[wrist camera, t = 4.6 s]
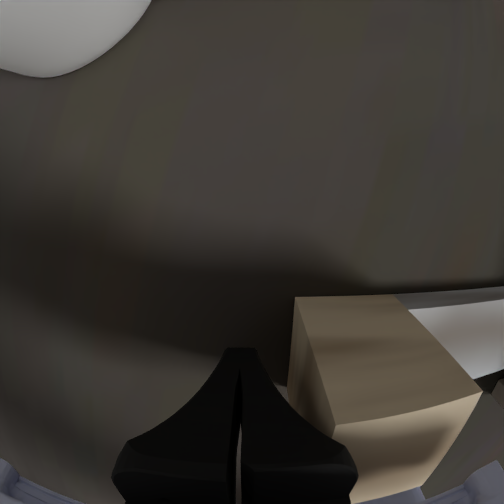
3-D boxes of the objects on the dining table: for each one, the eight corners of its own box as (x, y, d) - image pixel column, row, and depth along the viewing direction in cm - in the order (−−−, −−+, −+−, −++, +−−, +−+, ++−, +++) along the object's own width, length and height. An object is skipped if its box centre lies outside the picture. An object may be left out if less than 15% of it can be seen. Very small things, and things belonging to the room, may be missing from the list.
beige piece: (533, 342, 14) (585, 389, 7) (286, 387, 14) (305, 510, 7) (553, 280, 13) (616, 319, 6) (295, 296, 12) (335, 425, 6)
